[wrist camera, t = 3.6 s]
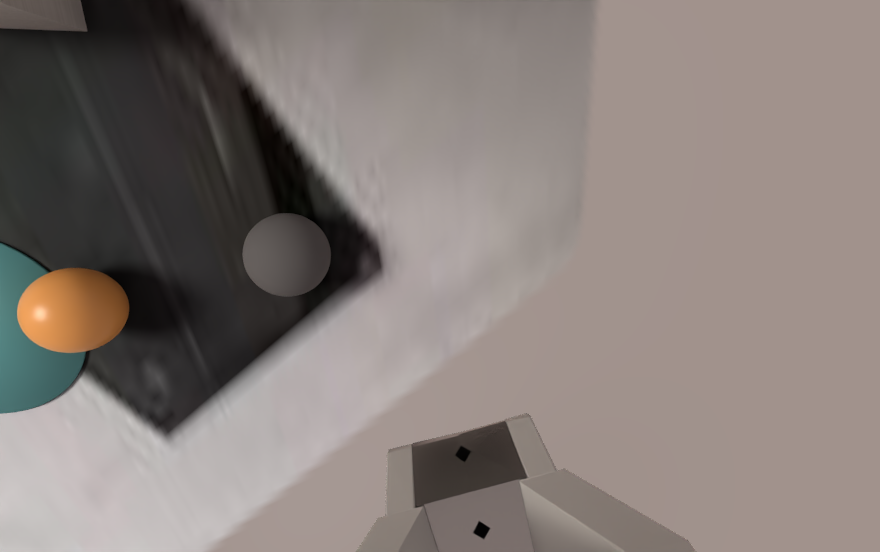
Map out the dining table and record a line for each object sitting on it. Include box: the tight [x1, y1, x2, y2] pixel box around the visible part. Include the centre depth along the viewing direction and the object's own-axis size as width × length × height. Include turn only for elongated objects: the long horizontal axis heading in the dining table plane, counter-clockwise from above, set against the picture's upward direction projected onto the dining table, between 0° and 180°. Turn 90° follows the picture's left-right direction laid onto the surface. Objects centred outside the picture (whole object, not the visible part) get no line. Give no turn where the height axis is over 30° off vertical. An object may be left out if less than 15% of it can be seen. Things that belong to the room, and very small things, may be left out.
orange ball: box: [17, 268, 129, 353], centre depth 28 cm, size 6×6×6 cm
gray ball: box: [243, 213, 331, 296], centre depth 28 cm, size 6×6×6 cm
